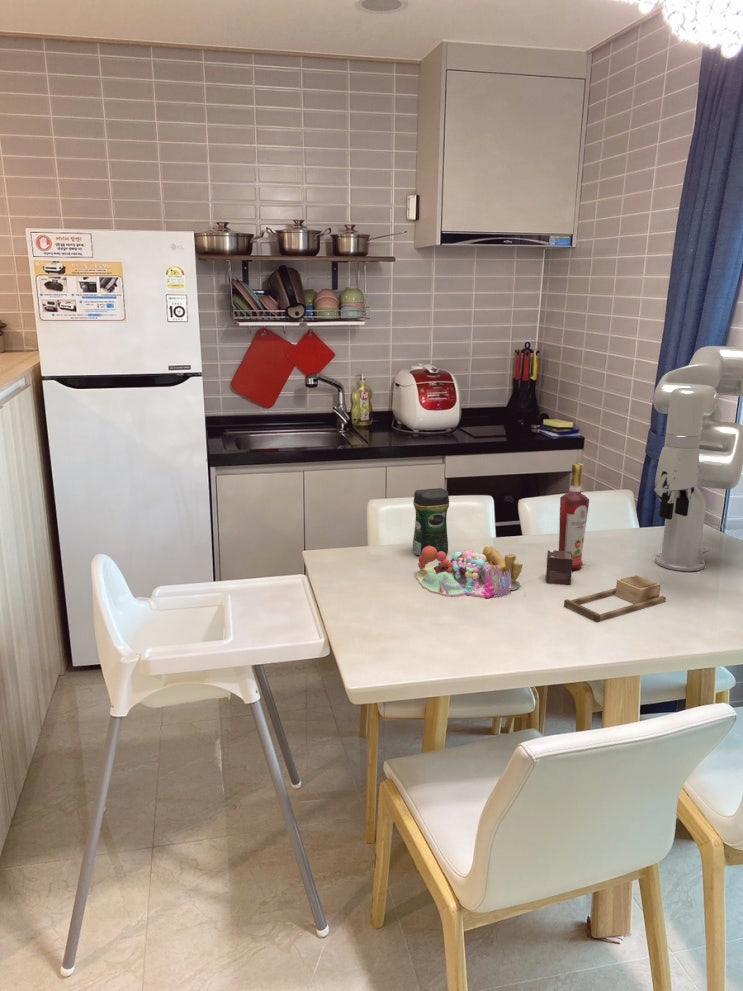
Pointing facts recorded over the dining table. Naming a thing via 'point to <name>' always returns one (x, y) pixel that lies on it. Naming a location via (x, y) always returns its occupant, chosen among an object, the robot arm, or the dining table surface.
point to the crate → (637, 589)
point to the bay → (576, 607)
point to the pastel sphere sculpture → (469, 573)
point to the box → (559, 567)
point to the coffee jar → (430, 520)
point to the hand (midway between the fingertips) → (673, 515)
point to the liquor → (573, 518)
